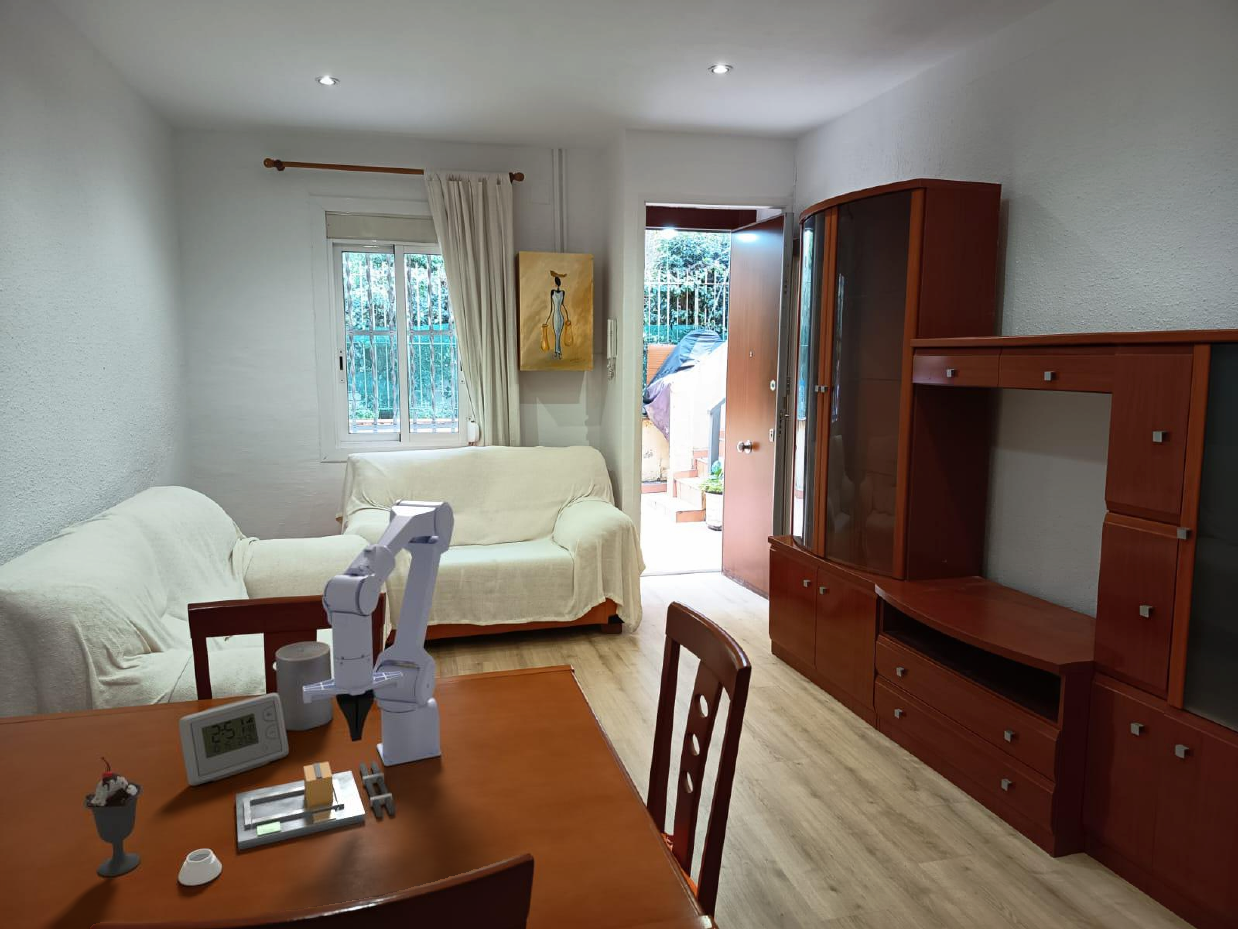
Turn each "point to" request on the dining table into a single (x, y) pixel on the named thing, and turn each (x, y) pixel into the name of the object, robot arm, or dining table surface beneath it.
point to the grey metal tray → (294, 811)
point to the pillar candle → (303, 684)
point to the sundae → (115, 819)
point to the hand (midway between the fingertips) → (355, 738)
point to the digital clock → (233, 738)
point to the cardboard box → (318, 784)
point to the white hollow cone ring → (199, 867)
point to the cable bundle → (368, 781)
